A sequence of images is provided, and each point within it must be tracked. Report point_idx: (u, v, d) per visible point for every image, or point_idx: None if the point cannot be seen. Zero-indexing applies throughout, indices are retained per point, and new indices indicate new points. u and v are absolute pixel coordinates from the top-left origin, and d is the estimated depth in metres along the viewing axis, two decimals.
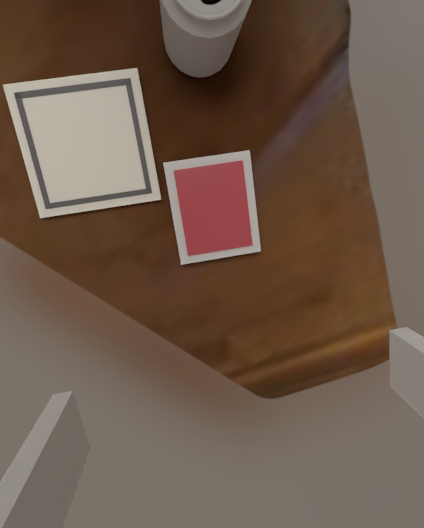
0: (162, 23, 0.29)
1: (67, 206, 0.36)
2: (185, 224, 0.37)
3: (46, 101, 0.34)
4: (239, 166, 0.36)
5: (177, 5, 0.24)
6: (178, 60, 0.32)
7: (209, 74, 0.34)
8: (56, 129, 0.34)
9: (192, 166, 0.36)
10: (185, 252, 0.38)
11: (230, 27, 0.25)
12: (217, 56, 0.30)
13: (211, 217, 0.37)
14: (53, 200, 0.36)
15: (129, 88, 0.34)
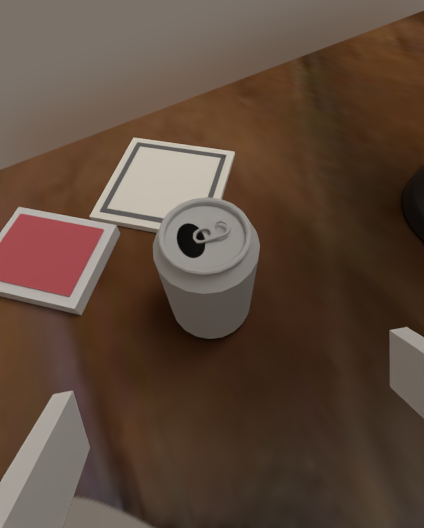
0: None
1: (130, 154, 0.41)
2: (49, 221, 0.34)
3: (211, 170, 0.39)
4: (64, 290, 0.30)
5: None
6: None
7: None
8: (189, 168, 0.39)
9: (96, 247, 0.33)
10: (26, 214, 0.35)
11: (155, 252, 0.22)
12: None
13: (37, 245, 0.33)
14: (140, 148, 0.42)
15: None
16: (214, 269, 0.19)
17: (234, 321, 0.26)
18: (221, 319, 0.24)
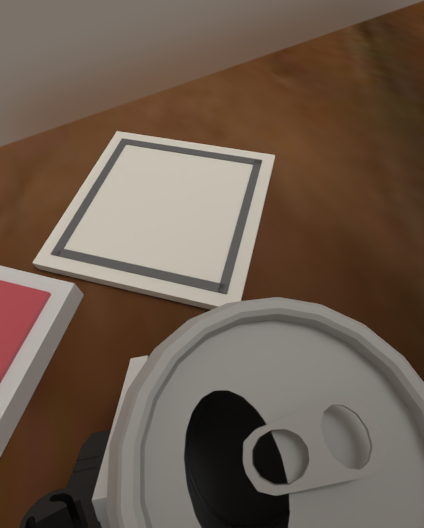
0: None
1: (110, 157, 0.26)
2: None
3: (239, 184, 0.24)
4: None
5: None
6: None
7: None
8: (202, 181, 0.24)
9: (34, 329, 0.18)
10: None
11: (112, 488, 0.07)
12: None
13: None
14: (126, 148, 0.27)
15: (212, 286, 0.20)
16: None
17: None
18: None
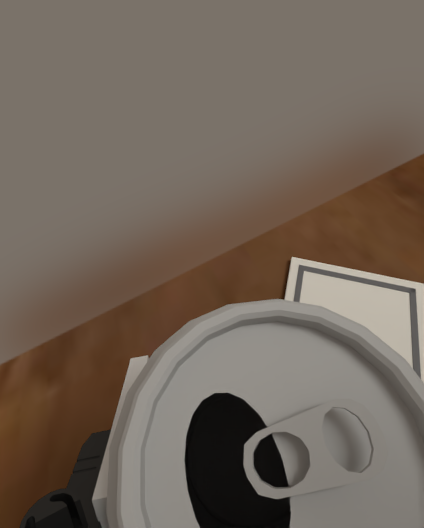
0: None
1: (295, 283, 0.34)
2: None
3: (403, 311, 0.32)
4: None
5: None
6: None
7: None
8: (374, 308, 0.32)
9: None
10: None
11: (113, 490, 0.07)
12: None
13: None
14: (305, 274, 0.35)
15: None
16: None
17: None
18: None
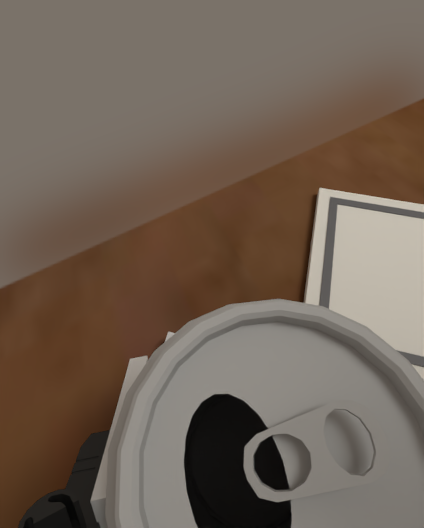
0: None
1: (327, 219, 0.24)
2: None
3: None
4: None
5: None
6: None
7: None
8: None
9: None
10: None
11: (111, 493, 0.06)
12: None
13: None
14: (339, 209, 0.25)
15: None
16: None
17: None
18: None
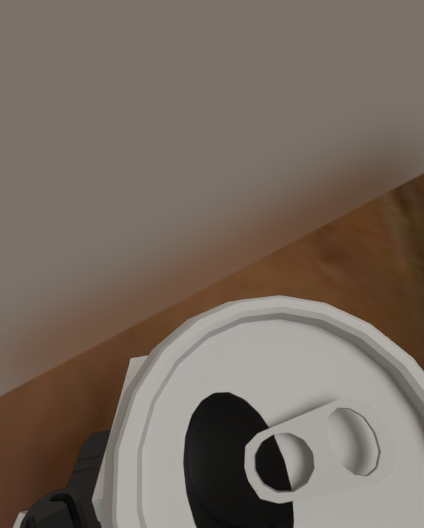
0: None
1: None
2: None
3: None
4: None
5: None
6: None
7: None
8: None
9: None
10: None
11: (109, 493, 0.06)
12: None
13: None
14: None
15: None
16: None
17: None
18: None
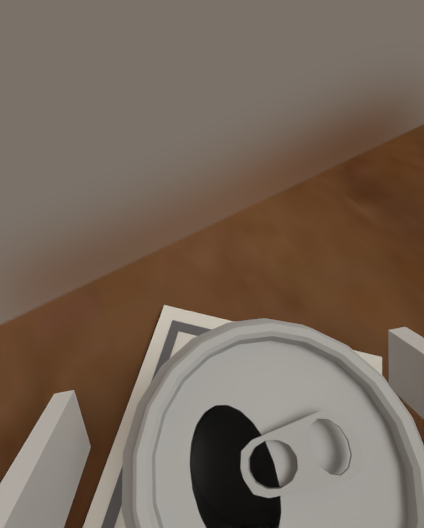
0: None
1: (159, 355, 0.20)
2: None
3: None
4: None
5: None
6: None
7: None
8: None
9: None
10: None
11: (126, 491, 0.07)
12: None
13: None
14: (179, 338, 0.20)
15: None
16: None
17: None
18: None
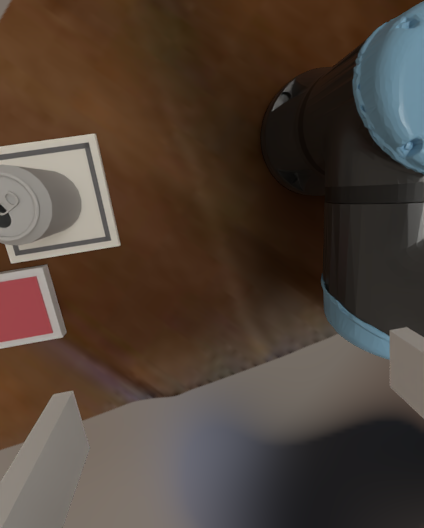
0: None
1: None
2: None
3: (84, 169, 0.39)
4: (46, 330, 0.42)
5: None
6: None
7: None
8: None
9: (42, 291, 0.41)
10: None
11: None
12: None
13: None
14: None
15: (103, 239, 0.41)
16: (25, 233, 0.29)
17: (70, 220, 0.37)
18: (59, 230, 0.35)
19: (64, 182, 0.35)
